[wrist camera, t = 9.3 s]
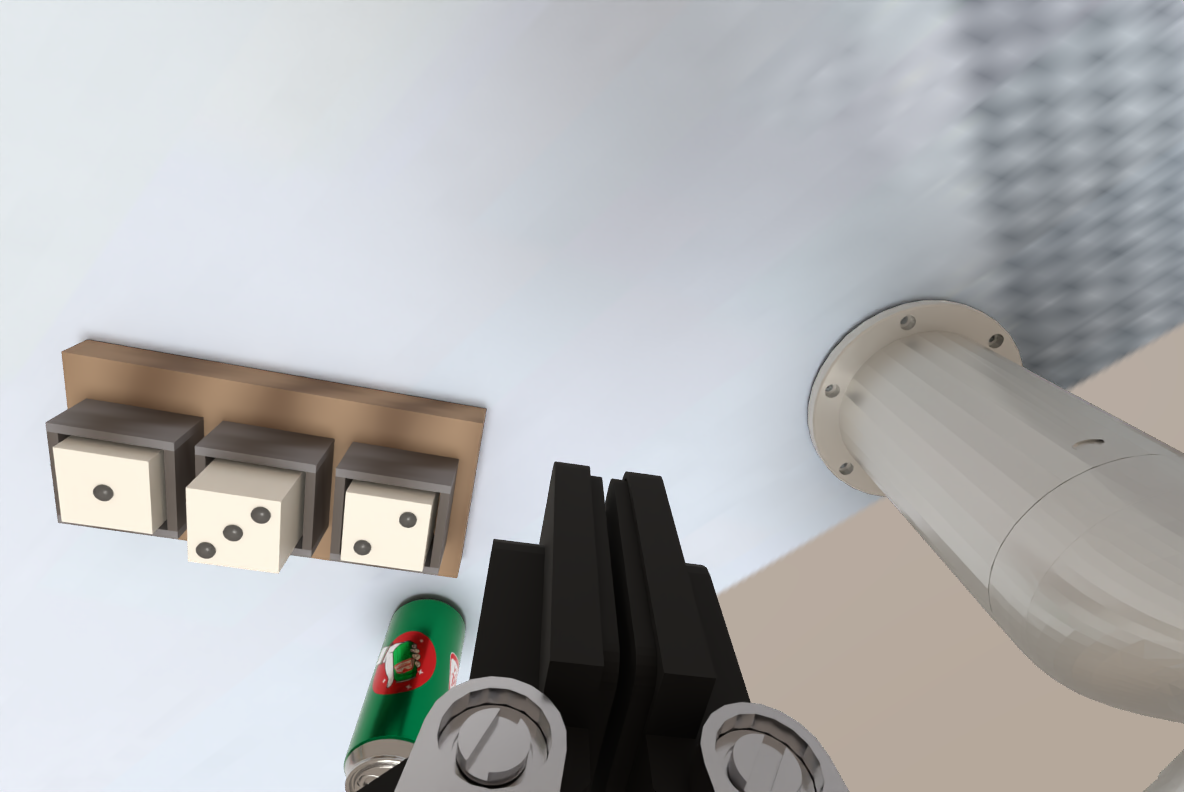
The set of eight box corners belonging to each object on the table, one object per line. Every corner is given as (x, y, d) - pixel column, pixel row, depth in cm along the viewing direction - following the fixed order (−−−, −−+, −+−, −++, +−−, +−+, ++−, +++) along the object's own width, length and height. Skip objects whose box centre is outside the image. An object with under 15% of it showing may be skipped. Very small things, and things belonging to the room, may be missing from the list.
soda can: (447, 659, 46) (412, 831, 35) (380, 634, 45) (322, 804, 34) (478, 609, 44) (452, 773, 33) (410, 582, 43) (359, 743, 32)
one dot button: (185, 430, 35) (146, 463, 32) (187, 498, 37) (150, 536, 34) (99, 416, 35) (50, 448, 31) (105, 485, 36) (59, 523, 33)
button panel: (486, 408, 38) (476, 448, 34) (461, 558, 42) (449, 611, 38) (87, 339, 35) (17, 372, 31) (102, 506, 39) (43, 557, 35)
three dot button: (306, 466, 35) (279, 503, 31) (303, 533, 36) (277, 575, 33) (220, 452, 34) (184, 489, 31) (221, 521, 36) (186, 563, 32)
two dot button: (442, 471, 37) (431, 506, 34) (433, 534, 39) (421, 573, 35) (364, 458, 36) (345, 493, 33) (358, 522, 38) (339, 562, 35)
